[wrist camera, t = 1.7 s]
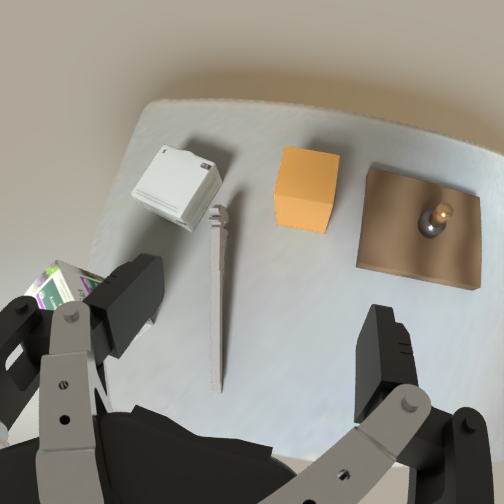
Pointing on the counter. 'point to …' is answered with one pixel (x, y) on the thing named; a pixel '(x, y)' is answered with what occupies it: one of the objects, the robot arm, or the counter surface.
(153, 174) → the small box
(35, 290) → the syrup box
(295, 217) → the orange rectangular block
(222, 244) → the caliper
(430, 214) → the grey and tan knob
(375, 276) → the counter surface
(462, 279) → the board
